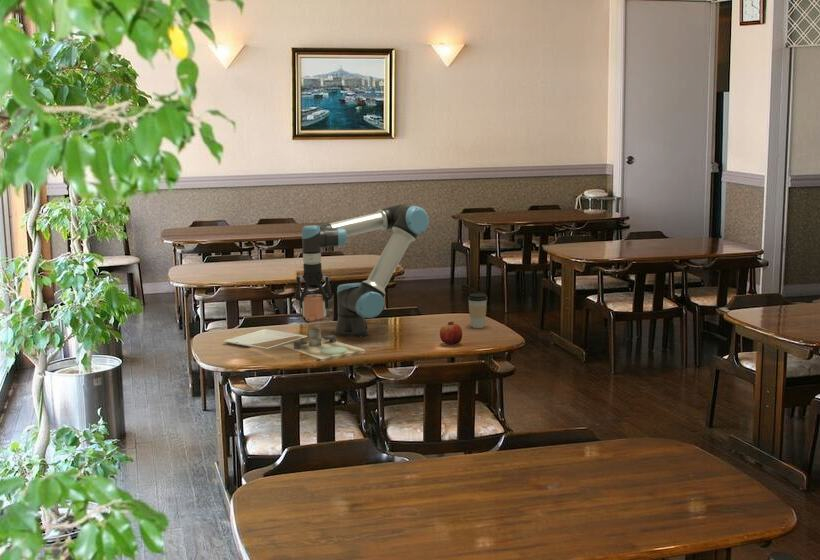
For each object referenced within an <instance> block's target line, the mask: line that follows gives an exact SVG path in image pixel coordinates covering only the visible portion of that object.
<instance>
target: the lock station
mask: <svg viewBox="0 0 820 560" xmlns="http://www.w3.org/2000/svg"><path fill="white" fill-rule="evenodd" d="M321 330H322V328H320V327H311V328H310V327H309V328H308V340H303V339H301V340H296V341H293V343H287V344H283V345H282V347H283V348H284V347H285V348H287V349H289V350H293V351H296V352H298V353H302V354H305V355H308V356H310V357H313V358H316V361H317V362H320V363H323V362H328V361H333V360H337V359H344V358H347V357H352V356H355V355H361V354H365V353H366V351H367V350H366V349H363V348H361V347H358V346H354V345H351V344H348V343H344V342H342V341H339V340H337V338H336V337H337V336H336V335H333V334H330V335H329V334H327V335H324V336H322V332H321ZM326 347H344V348H347V352H346V353H343V354H335V355H329V354H323V353H321V349H323V348H326Z"/></svg>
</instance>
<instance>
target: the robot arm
mask: <svg viewBox="0 0 820 560" xmlns="http://www.w3.org/2000/svg"><path fill="white" fill-rule="evenodd" d="M429 225H430V218H429V214H428V213H427V211H426V210H425V209H424V208H422V207H420V206H418V205H411V204H410V205H408V204H404V203H403V204H402V203H401V204H396V205H390V206H388V207H384V208H380V209H378V210H377V211H376V212H372V213H369V214H364V215H361V216H355V217H351V218H347V219H346V218H345V219H342V220H338V221H334V222H329V223H324V224H320V225H319V224H313V225H304V226H303V227H302V228H301V241H302V261H303V264H302V266H303V275H298V276H297V277H296V282H297V283H296V290H295V300H296V301H299V307H300V309H302V317H303V318H305V315H304V296H305V295H307V292H308V289H309V286H316V287H318V290H319V292H320V294H321V295H322V296H323V298H324V301H323V317H324V318H326V316H327V309H329V301H330V300H332V299H333V294H332V289H331V284H330V275H323V271H322V270H323V269H322V263H321V262H322V252H321V251H322V248H323V249H324V248H331V247H332V248H333V247H340V246H344V245H347V242H348V237H351V236H356V235H360V234H363V233H368V232H373V231H377V230H381V231H388V230H392V234H391V236H390V238H389V240H388V241H387V243H386V245H385V246H384V249H383V250H382V252H381V254H380V256H379V258H378V260H377V261H376V262H375V265H374V267H373V268H372V269H371V272H370V274H369V276H368V277H367V279H366V280H362V281H361V282H351V283H343V284H339V285H338V286H337V287H336V288H337V289H336V290H337V291H336V296H337V297H336V299H337V320H336V324H335V328H334V334H335V335H338V336H344V337H345V336H348V337H349V336H350V337H351V336H352V337H355V338H363V337H366V336H368V335H369V327H368V325H367V322H366V319H374V318H376V317H377V316H379V315H380V314H381V313H382V311H383V310H384V307H385V301H384V300H385V299H384V298H385V297H386V291H385V290H386V287H387V285H388V283H389V282H390V280H391V278H392V276H393V275H394V272H395V271H396V269H397V267H398V265H399V264H400V262H401V260H402V258H403V256H404V254H405V253H406V250H407V249H408V247H409V246H410V243H411V242H415V241H416V240H417V238H418V236H419V235H420V234H422V233H425V232H426V231H427V229H428V227H429ZM303 280H304V282H305V285H304V288H303V290H302V293H301V289H302V288H301V287H302V282H303ZM322 280H323V281H324V285H325V287H326V290H325V288H324V286H323V285H322Z"/></svg>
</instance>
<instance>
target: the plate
mask: <svg viewBox="0 0 820 560" xmlns="http://www.w3.org/2000/svg"><path fill="white" fill-rule="evenodd" d="M293 337H298V338H294V339H292V340H288V341H285V342H281V343H278V344H275V345H272V346H268V347H265V346H259V345H255V344H261V343H266V342H271V341H272V342H273V341H277V340H282V339H287V338H293ZM305 338H309V335H305V334H299V333H292V332H286V331H280V330H275V329H274V330H273V329H267V328H263V329H260V330H257V331H254V332H253V331H252V332H250V333H246V334H243V335H240V336H239V335H238V336H235V337H231V338H229V339H225V340H223V343H227V344H231V345H235V344H236V346H240V345H241V346H242V347H246V346H247V348H250V347H251V348H258V349H264V350H269V349H272V348H276V347H279V346H283V345H287V344H290V343H292V342H297V341H300V340H303V339H305ZM236 342H238V343H236ZM241 346H240V347H241Z"/></svg>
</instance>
